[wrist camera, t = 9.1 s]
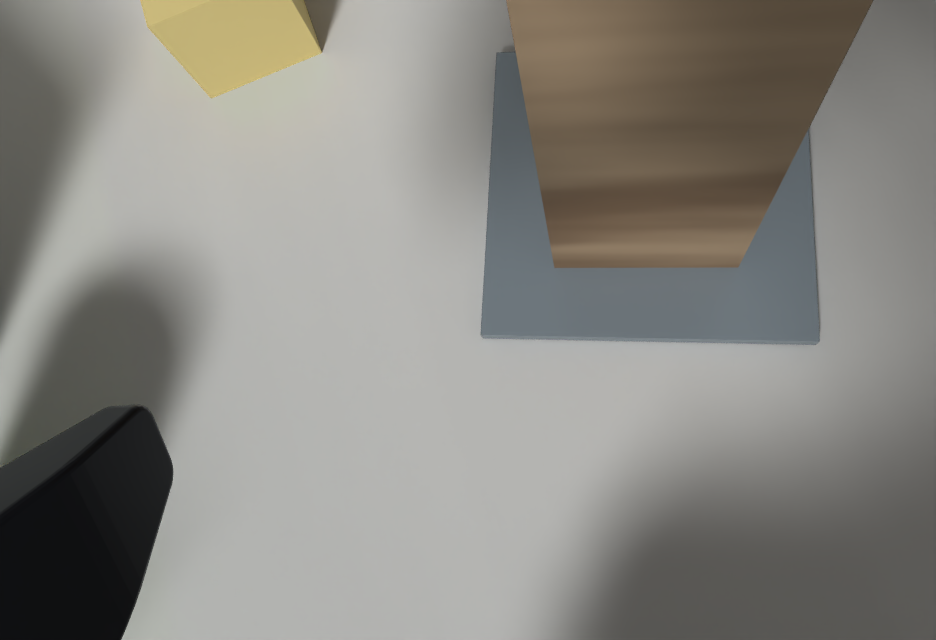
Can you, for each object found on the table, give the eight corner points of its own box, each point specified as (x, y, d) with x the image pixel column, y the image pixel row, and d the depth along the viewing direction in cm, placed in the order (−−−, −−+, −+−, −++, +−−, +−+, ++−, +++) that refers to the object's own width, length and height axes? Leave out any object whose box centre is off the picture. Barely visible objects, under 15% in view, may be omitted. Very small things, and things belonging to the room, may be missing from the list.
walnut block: (738, 267, 22) (887, -28, 10) (554, 268, 23) (505, -5, 11) (732, 102, 23) (860, -322, 12) (558, 109, 24) (517, -281, 12)
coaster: (815, 344, 21) (819, 341, 21) (482, 338, 23) (480, 334, 23) (800, 47, 24) (803, 40, 23) (498, 60, 25) (496, 52, 25)
